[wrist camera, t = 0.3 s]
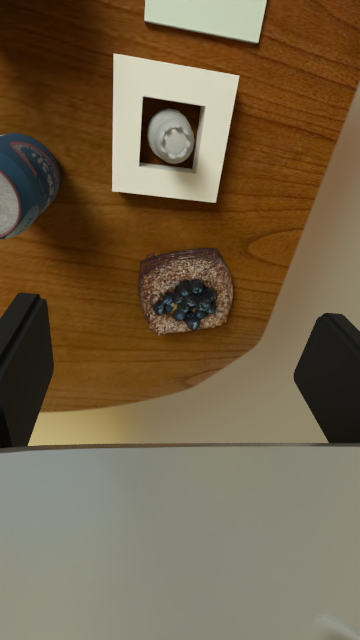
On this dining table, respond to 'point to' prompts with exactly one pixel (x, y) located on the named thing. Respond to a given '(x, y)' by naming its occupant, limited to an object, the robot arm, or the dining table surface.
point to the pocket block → (177, 86)
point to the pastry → (185, 290)
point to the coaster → (210, 17)
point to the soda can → (25, 182)
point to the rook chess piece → (170, 136)
